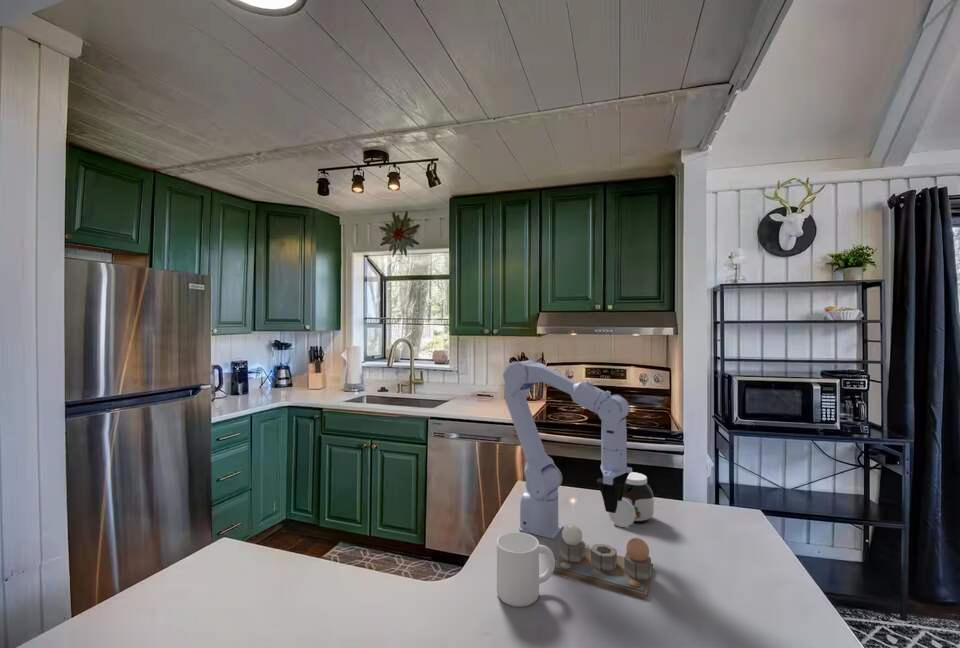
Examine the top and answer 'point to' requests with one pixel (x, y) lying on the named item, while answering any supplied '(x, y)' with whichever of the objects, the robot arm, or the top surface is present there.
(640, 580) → the brown egg holder tray
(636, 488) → the spread jar
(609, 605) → the top surface
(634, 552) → the terracotta ball
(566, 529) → the cream ball
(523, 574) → the mug
